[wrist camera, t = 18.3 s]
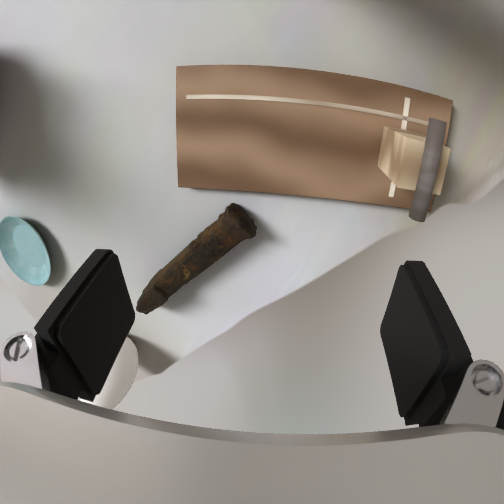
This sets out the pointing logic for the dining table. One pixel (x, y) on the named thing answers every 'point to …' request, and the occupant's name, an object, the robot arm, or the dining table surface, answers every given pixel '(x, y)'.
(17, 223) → the saucer
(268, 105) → the board
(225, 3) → the dining table surface
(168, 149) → the dining table surface
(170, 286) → the hand tool
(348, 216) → the dining table surface
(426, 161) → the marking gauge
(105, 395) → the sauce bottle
